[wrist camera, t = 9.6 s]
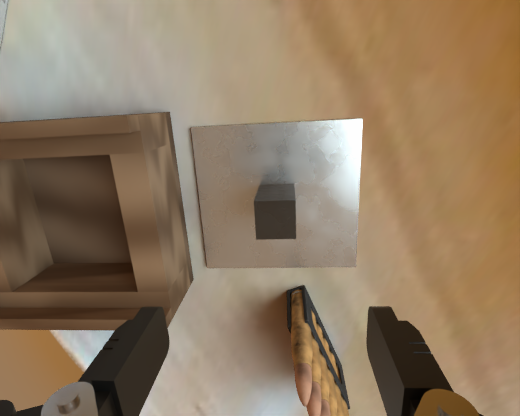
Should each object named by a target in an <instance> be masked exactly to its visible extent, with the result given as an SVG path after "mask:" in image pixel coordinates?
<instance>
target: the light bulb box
mask: <svg viewBox="0 0 520 416" xmlns="http://www.w3.org/2000/svg"><path fill="white" fill-rule="evenodd" d="M7 3H8V0H0V48H1V42H2V36H3V29H4V23H5V17H6V10H7Z"/></svg>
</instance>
